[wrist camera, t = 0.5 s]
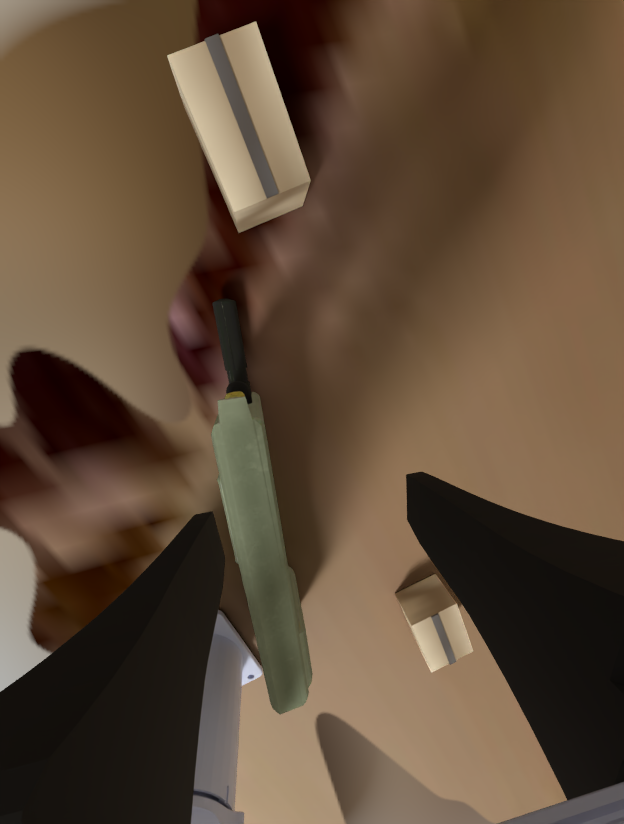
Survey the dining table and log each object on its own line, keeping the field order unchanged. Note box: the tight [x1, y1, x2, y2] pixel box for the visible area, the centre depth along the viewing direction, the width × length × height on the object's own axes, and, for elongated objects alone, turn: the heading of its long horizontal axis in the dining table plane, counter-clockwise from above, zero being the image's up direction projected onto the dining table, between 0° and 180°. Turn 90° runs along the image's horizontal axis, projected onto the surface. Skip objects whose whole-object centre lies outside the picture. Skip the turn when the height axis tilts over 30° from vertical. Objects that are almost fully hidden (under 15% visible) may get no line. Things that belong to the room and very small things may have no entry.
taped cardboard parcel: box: [167, 22, 473, 673], centre depth 20 cm, size 4×42×3 cm, turn 23°
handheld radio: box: [211, 299, 312, 714], centre depth 18 cm, size 7×3×25 cm
